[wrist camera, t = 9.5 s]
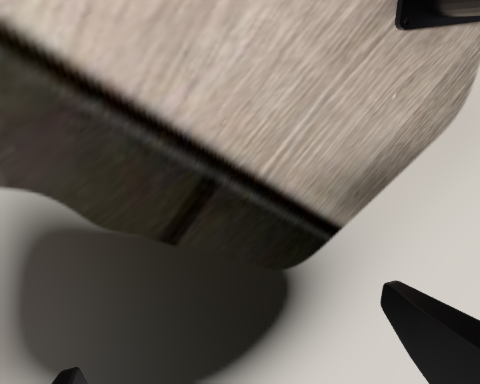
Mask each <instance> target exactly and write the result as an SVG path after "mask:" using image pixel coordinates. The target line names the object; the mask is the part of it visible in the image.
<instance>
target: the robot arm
mask: <svg viewBox="0 0 480 384" xmlns="http://www.w3.org/2000/svg"><path fill="white" fill-rule="evenodd" d="M405 16H406V17H407V20H406V23H405V24H404V18H405ZM478 21H480V0H398V2H397V10H396V18H395V25H396V27H397V28H398V29H400V30H407V29H416V28H425V27H434V26H443V25H451V24H460V23H469V22H478ZM381 307H382V309H383V311H384V313H385V315H386V316H387V318H388V320H389V322H390V323H391V325H392V327H393V329H394V330H395V332H396V334H397V335H398V337H399V339H400V341H401V342H402V344H403V346H404V347H405V349H406V350H407V352H408V354H409V356H410V357H411V359H412V360H413V361H414V363H415V364H416V366H417V367H418V369H419V370H420V371H421V373H422V374H423V376H424V377H425V378H426V380H427V381H428V383H429V384H480V320H478V319H476V318H473V317H471V316H469V315H467V314H465V313H463V312H461V311H459V310H457V309H455V308H453V307H451V306H449V305H447V304H445V303H443V302H441V301H438V300H437V299H434V298H433V297H430V296H428V295H426V294H424V293H422V292H420V291H418V290H416V289H414V288H412V287H410V286H408V285H406V284H404V283H402V282H399V281H391V282H387V283H385V284H384V285H383V290H382V296H381ZM52 384H88V382H87V380H86V379H85V377H84V375H83V373H82V371H81V369H80V368H79V367H73V368H69V369H65V370H63V371H61V372H60V373H59V374H58V375H57V377H56V378H55V380H54V381H53V383H52Z"/></svg>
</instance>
